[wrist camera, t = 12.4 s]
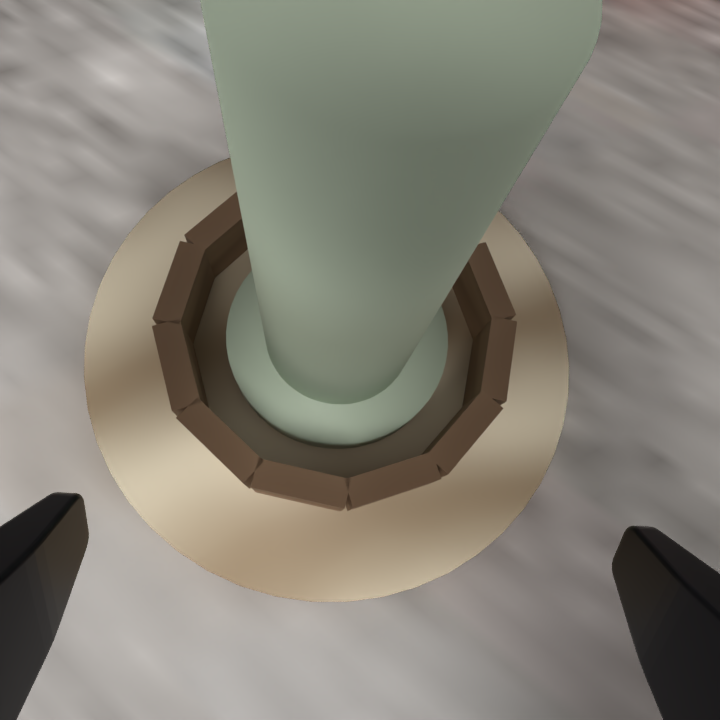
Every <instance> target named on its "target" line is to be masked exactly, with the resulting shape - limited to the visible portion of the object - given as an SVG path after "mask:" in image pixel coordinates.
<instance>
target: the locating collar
mask: <svg viewBox="0 0 720 720" xmlns="http://www.w3.org/2000/svg"><path fill="white" fill-rule="evenodd" d="M251 270H252V268H251V263H250V257H249V252H248V247H247V242H246V237H245V231H244V226H243V221H242V216H241V211H240V205H239V200H238V195H237V190H236V185H235V179H234V174H233V169H232V164H231V159H230V158H228V159H226V160H223V161H220V162H218V163H216V164H214V165H212V166H211V167H209V168H207V169H205V170H203V171H201V172H199V173H197V174H195V175H194V176H192V177H191V178H189V179H188V180H186V181H185V182H184V183H182V184H181V185H179V186H178V187H176V188H175V189H173V190H172V191H171V192H169V193H168V194H167V195H166V196H165V197H164V198H163V199H161V200H160V201H159V202H158V203H157V204H156V205H155V206H154V207H153V208H151V209H150V210H149V211H148V212H147V213H146V215H145V216H144V217H143V218H142V219H141V220H140V221H139V223H138V224H137V225H136V226H135V227H134V228H133V230H132V231H131V232H130V233H129V234H128V236H127V237H126V239H125V240H124V242H123V244H122V245H121V247H120V248H119V250H118V251H117V253H116V254H115V256H114V257H113V259H112V261H111V263H110V265H109V267H108V269H107V271H106V273H105V275H104V278H103V280H102V282H101V284H100V286H99V289H98V292H97V295H96V298H95V302H94V305H93V308H92V311H91V314H90V319H89V325H88V331H87V337H86V343H85V363H84V380H85V389H86V397H87V405H88V411H89V415H90V419H91V422H92V426H93V430H94V433H95V437H96V441H97V443H98V446H99V448H100V450H101V452H102V455H103V457H104V459H105V462H106V464H107V466H108V468H109V471H110V473H111V474H112V476H113V478H114V479H115V481H116V482H117V484H118V486H119V487H120V489H121V490H122V492H123V494H124V495H125V497H126V498H127V500H128V501H129V503H130V504H131V505H132V506H133V507H134V509H135V510H136V511H137V512H138V513H139V514H140V516H141V517H142V518H143V519H144V520H145V521H146V523H147V524H148V525H149V526H150V527H151V528H152V529H153V530H154V531H155V532H156V533H157V534H158V535H160V536H161V537H162V538H163V539H164V540H165V541H166V542H168V543H169V544H170V545H171V546H172V547H173V548H174V549H176V550H177V551H178V552H180V553H181V554H183V555H184V556H186V557H187V558H189V559H190V560H192V561H193V562H195V563H196V564H198V565H200V566H201V567H203V568H204V569H206V570H207V571H209V572H211V573H214V574H216V575H218V576H220V577H222V578H224V579H227V580H229V581H231V582H233V583H235V584H237V585H240V586H242V587H246V588H249V589H252V590H256V591H259V592H263V593H266V594H269V595H273V596H277V597H283V598H290V599H297V600H304V601H310V602H349V601H357V600H364V599H371V598H379V597H384V596H388V595H391V594H395V593H398V592H402V591H405V590H409V589H412V588H416V587H418V586H420V585H423V584H425V583H427V582H429V581H432V580H434V579H436V578H438V577H441V576H443V575H445V574H447V573H449V572H451V571H452V570H454V569H455V568H457V567H459V566H460V565H462V564H463V563H465V562H467V561H468V560H470V559H471V558H473V557H474V556H476V555H477V554H479V553H480V552H481V551H482V550H483V549H484V548H486V547H487V546H488V545H489V544H490V543H492V542H493V541H494V540H495V539H496V538H497V537H499V536H500V535H501V534H502V533H503V532H504V531H505V530H506V529H507V527H508V526H509V525H510V524H511V523H512V522H513V521H514V519H515V518H516V517H517V516H518V515H519V514H520V513H521V512H522V510H523V509H524V508H525V506H526V505H527V503H528V502H529V500H530V499H531V497H532V496H533V494H534V493H535V491H536V490H537V488H538V487H539V485H540V483H541V482H542V479H543V477H544V475H545V473H546V471H547V469H548V467H549V465H550V463H551V460H552V458H553V456H554V454H555V451H556V447H557V444H558V441H559V438H560V435H561V431H562V428H563V424H564V418H565V412H566V406H567V400H568V386H569V361H568V351H567V341H566V335H565V331H564V327H563V323H562V318H561V314H560V310H559V307H558V305H557V302H556V299H555V297H554V294H553V291H552V288H551V286H550V283H549V281H548V279H547V278H546V276H545V274H544V272H543V270H542V268H541V266H540V264H539V262H538V260H537V258H536V257H535V255H534V254H533V253H532V251H531V250H530V248H529V247H528V245H527V244H526V242H525V241H524V239H523V238H522V236H521V235H520V234H519V233H518V232H517V231H516V229H515V228H514V227H513V226H512V225H511V224H510V223H509V221H508V220H507V219H506V218H505V217H504V216H503V215H502V214H501V213H500V212H499V211H498V212H497V214H496V215H495V217H494V219H493V220H492V222H491V224H490V225H489V227H488V229H487V230H486V232H485V234H484V235H483V237H482V238H481V240H480V242H479V243H478V245H477V247H476V248H475V250H474V252H473V253H472V255H471V257H470V258H469V260H468V262H467V263H466V265H465V267H464V268H463V270H462V272H461V273H460V275H459V277H458V278H457V280H456V282H455V283H454V285H453V287H452V288H451V290H450V292H449V293H448V295H447V297H446V298H445V300H444V301H443V303H442V305H441V306H442V309H443V312H444V316H445V319H446V325H447V332H448V351H447V359H446V363H445V367H444V371H443V374H442V377H441V379H440V381H439V384H438V386H437V388H436V389H435V391H434V393H433V394H432V396H431V398H430V399H429V400H428V402H427V403H426V404H425V405H424V407H423V408H422V409H421V410H420V411H419V412H418V413H417V414H416V415H415V416H414V417H413V418H412V419H411V420H410V421H409V422H408V423H407V424H406V425H405V426H403V427H402V428H401V429H399V430H398V431H396V432H395V433H393V434H391V435H390V436H388V437H386V438H384V439H382V440H379V441H377V442H374V443H371V444H368V445H364V446H359V447H355V448H345V449H331V448H321V447H315V446H310V445H307V444H304V443H301V442H298V441H295V440H293V439H291V438H289V437H287V436H285V435H283V434H281V433H280V432H278V431H277V430H275V429H273V428H272V427H271V426H269V425H268V424H267V423H266V422H265V421H264V420H262V419H261V418H260V417H259V416H258V415H257V413H256V412H255V411H254V410H253V409H252V408H251V407H250V405H249V404H248V402H247V401H246V399H245V398H244V396H243V394H242V392H241V390H240V388H239V386H238V384H237V382H236V380H235V377H234V375H233V372H232V369H231V366H230V363H229V359H228V353H227V347H226V328H227V320H228V315H229V311H230V308H231V304H232V302H233V300H234V297H235V295H236V292H237V291H238V289H239V287H240V286H241V284H242V282H243V281H244V279H245V278H246V277H247V276H248V274H249V273H250V272H251Z"/></svg>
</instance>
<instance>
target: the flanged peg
mask: <svg viewBox="0 0 720 720" xmlns="http://www.w3.org/2000/svg"><path fill="white" fill-rule="evenodd" d="M200 2H201V8H202V13H203V18H204V23H205V28H206V34H207V39H208V44H209V49H210V54H211V60H212V65H213V70H214V75H215V80H216V86H217V91H218V96H219V101H220V107H221V112H222V117H223V122H224V127H225V133H226V138H227V143H228V148H229V153H230V159H231V164H232V169H233V174H234V179H235V185H236V190H237V195H238V200H239V205H240V211H241V216H242V221H243V226H244V231H245V237H246V242H247V247H248V252H249V257H250V263H251V268H252V270H251V272H250V273H249V274H248V276H247V277H246V278H245V279H244V281H243V282H242V284H241V286H240V287H239V289H238V291H237V292H236V295H235V297H234V300H233V302H232V304H231V308H230V311H229V315H228V320H227V328H226V347H227V353H228V359H229V363H230V366H231V369H232V372H233V375H234V377H235V380H236V382H237V384H238V386H239V388H240V390H241V392H242V394H243V396H244V398H245V399H246V401H247V402H248V404H249V405H250V407H251V408H252V409H253V410H254V411H255V412H256V413H257V415H258V416H259V417H260V418H261V419H262V420H264V421H265V422H266V423H267V424H268V425H269V426H271V427H272V428H273V429H275V430H277V431H278V432H280V433H281V434H283V435H285V436H287V437H289V438H291V439H293V440H295V441H298V442H301V443H304V444H307V445H310V446H315V447H321V448H331V449H345V448H355V447H359V446H364V445H368V444H371V443H374V442H377V441H379V440H382V439H384V438H386V437H388V436H390V435H391V434H393V433H395V432H396V431H398V430H399V429H401V428H402V427H403V426H405V425H406V424H407V423H408V422H409V421H410V420H411V419H412V418H413V417H414V416H415V415H416V414H417V413H418V412H419V411H420V410H421V409H422V408H423V407H424V405H425V404H426V403H427V402H428V400H429V399H430V398H431V396H432V394H433V393H434V391H435V389H436V388H437V386H438V384H439V381H440V379H441V377H442V374H443V371H444V367H445V363H446V359H447V351H448V332H447V325H446V319H445V316H444V312H443V309H442V306H441V305H442V303H443V301H444V300H445V298H446V297H447V295H448V293H449V292H450V290H451V288H452V287H453V285H454V283H455V282H456V280H457V278H458V277H459V275H460V273H461V272H462V270H463V268H464V267H465V265H466V263H467V262H468V260H469V258H470V257H471V255H472V253H473V252H474V250H475V248H476V247H477V245H478V243H479V242H480V240H481V238H482V237H483V235H484V234H485V232H486V230H487V229H488V227H489V225H490V224H491V222H492V220H493V219H494V217H495V215H496V214H497V212H498V210H499V209H500V207H501V205H502V204H503V202H504V200H505V199H506V197H507V195H508V194H509V192H510V190H511V189H512V187H513V185H514V184H515V182H516V180H517V179H518V177H519V175H520V174H521V172H522V171H523V169H524V167H525V166H526V164H527V162H528V161H529V159H530V157H531V156H532V154H533V152H534V151H535V149H536V147H537V146H538V144H539V142H540V141H541V139H542V137H543V136H544V134H545V132H546V131H547V129H548V127H549V126H550V124H551V122H552V121H553V119H554V117H555V116H556V114H557V112H558V111H559V109H560V108H561V106H562V104H563V103H564V101H565V99H566V98H567V96H568V94H569V93H570V91H571V89H572V88H573V86H574V84H575V83H576V81H577V79H578V78H579V76H580V74H581V73H582V71H583V69H584V68H585V66H586V64H587V63H588V61H589V59H590V57H591V55H592V52H593V50H594V47H595V45H596V43H597V40H598V35H599V30H600V26H601V21H602V0H200Z"/></svg>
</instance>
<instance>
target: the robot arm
mask: <svg viewBox="0 0 720 720" xmlns="http://www.w3.org/2000/svg"><path fill="white" fill-rule="evenodd" d="M88 538H89V531H88V524H87V518H86V511H85V505H84V500H83V498H82V496H81V495H80V494H77V493H61V492H57V493H52V494H50V495H48V496H47V497H45V498H44V499H42V500H41V501H39V502H37V503H36V504H34V505H33V506H31V507H30V508H28V509H27V510H25V511H24V512H22V513H20V514H19V515H17V516H16V517H14V518H13V519H11V520H10V521H8V522H6V523H5V524H3V525H2V526H0V720H17V717H18V715H19V713H20V711H21V709H22V707H23V705H24V703H25V701H26V698H27V696H28V694H29V692H30V690H31V688H32V686H33V684H34V682H35V680H36V677H37V675H38V673H39V671H40V669H41V667H42V665H43V663H44V661H45V659H46V656H47V654H48V652H49V650H50V648H51V645H52V643H53V641H54V638H55V636H56V633H57V630H58V628H59V625H60V622H61V619H62V617H63V614H64V611H65V608H66V605H67V602H68V599H69V597H70V594H71V591H72V588H73V585H74V582H75V579H76V577H77V574H78V571H79V568H80V565H81V562H82V559H83V557H84V554H85V551H86V548H87V544H88ZM612 572H613V577H614V580H615V583H616V586H617V590H618V593H619V596H620V600H621V603H622V606H623V610H624V613H625V616H626V619H627V623H628V626H629V629H630V633H631V636H632V639H633V643H634V646H635V649H636V652H637V655H638V658H639V661H640V664H641V666H642V669H643V671H644V674H645V677H646V679H647V682H648V684H649V686H650V689H651V691H652V694H653V696H654V699H655V701H656V703H657V706H658V708H659V711H660V713H661V716H662V718H663V720H720V574H719V573H718V572H717V571H715V570H714V569H712V568H711V567H710V566H708V565H707V564H705V563H704V562H703V561H701V560H700V559H698V558H697V557H696V556H694V555H693V554H691V553H690V552H689V551H687V550H686V549H684V548H683V547H682V546H680V545H679V544H677V543H676V542H675V541H673V540H672V539H670V538H669V537H668V536H666V535H665V534H663V533H662V532H661V531H659V530H658V529H656V528H654V527H648V526H630V527H628V528H627V529H626V531H625V532H624V535H623V537H622V539H621V542H620V544H619V546H618V549H617V551H616V553H615V556H614V558H613V562H612Z"/></svg>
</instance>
